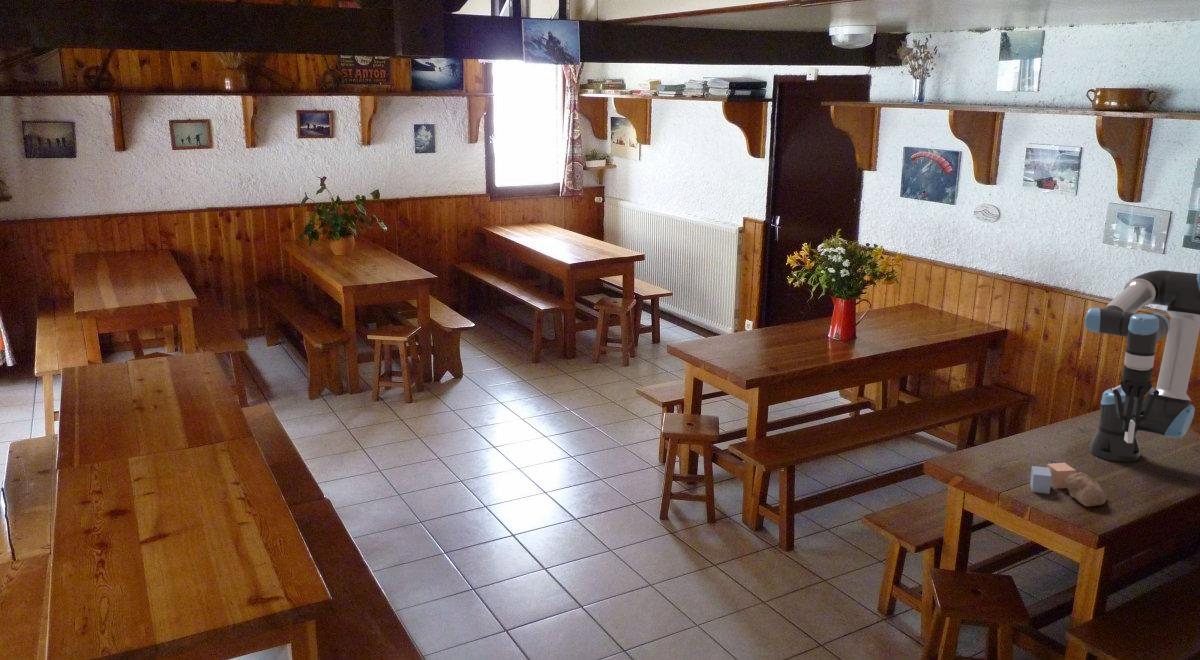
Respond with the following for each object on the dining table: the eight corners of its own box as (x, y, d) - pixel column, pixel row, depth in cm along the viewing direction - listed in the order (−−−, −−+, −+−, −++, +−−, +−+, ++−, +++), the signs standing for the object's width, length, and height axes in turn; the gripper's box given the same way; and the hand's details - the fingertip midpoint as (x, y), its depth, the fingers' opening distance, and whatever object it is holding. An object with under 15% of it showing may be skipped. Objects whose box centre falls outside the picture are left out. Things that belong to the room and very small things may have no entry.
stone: (1065, 497, 293) (1055, 475, 289) (1090, 481, 293) (1081, 459, 289) (1091, 519, 282) (1082, 497, 278) (1118, 503, 282) (1109, 480, 277)
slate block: (1047, 485, 297) (1048, 467, 296) (1049, 493, 291) (1051, 476, 290) (1030, 483, 299) (1031, 465, 298) (1032, 492, 293) (1033, 474, 291)
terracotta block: (1062, 479, 301) (1064, 462, 299) (1073, 487, 295) (1075, 470, 294) (1045, 481, 300) (1046, 463, 299) (1055, 488, 295) (1057, 471, 293)
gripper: (1156, 363, 276) (1146, 437, 282) (1109, 362, 278) (1100, 436, 284) (1167, 371, 269) (1156, 447, 275) (1119, 369, 271) (1109, 445, 277)
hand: (1128, 441), depth 280 cm, fingers closed
